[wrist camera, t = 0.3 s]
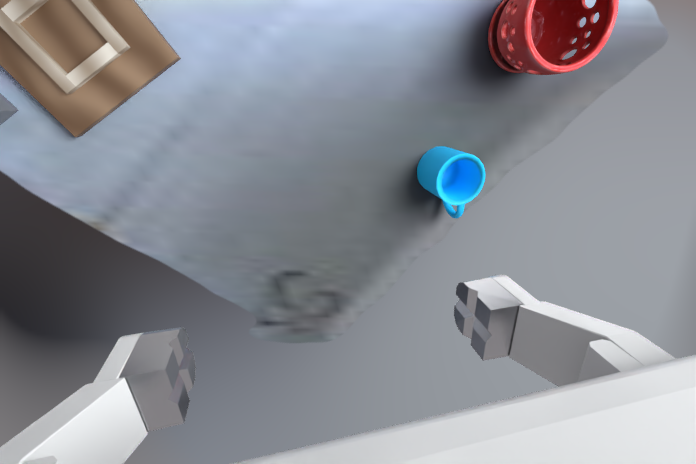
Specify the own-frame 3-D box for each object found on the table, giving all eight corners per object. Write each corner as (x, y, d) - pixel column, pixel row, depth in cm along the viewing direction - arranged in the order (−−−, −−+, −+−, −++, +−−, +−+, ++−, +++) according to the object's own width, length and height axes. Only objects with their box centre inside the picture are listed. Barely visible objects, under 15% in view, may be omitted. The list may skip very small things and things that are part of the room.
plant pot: (555, -23, 52) (629, -54, 41) (548, 71, 57) (612, 65, 46) (476, -12, 51) (531, -41, 40) (477, 83, 56) (525, 80, 45)
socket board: (65, -87, 40) (51, -99, 37) (180, 58, 47) (175, 56, 45) (-49, 9, 41) (-70, 3, 38) (81, 136, 48) (70, 138, 46)
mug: (413, 153, 58) (432, 162, 51) (457, 140, 59) (483, 147, 52) (423, 216, 63) (443, 232, 56) (464, 203, 64) (489, 218, 56)
